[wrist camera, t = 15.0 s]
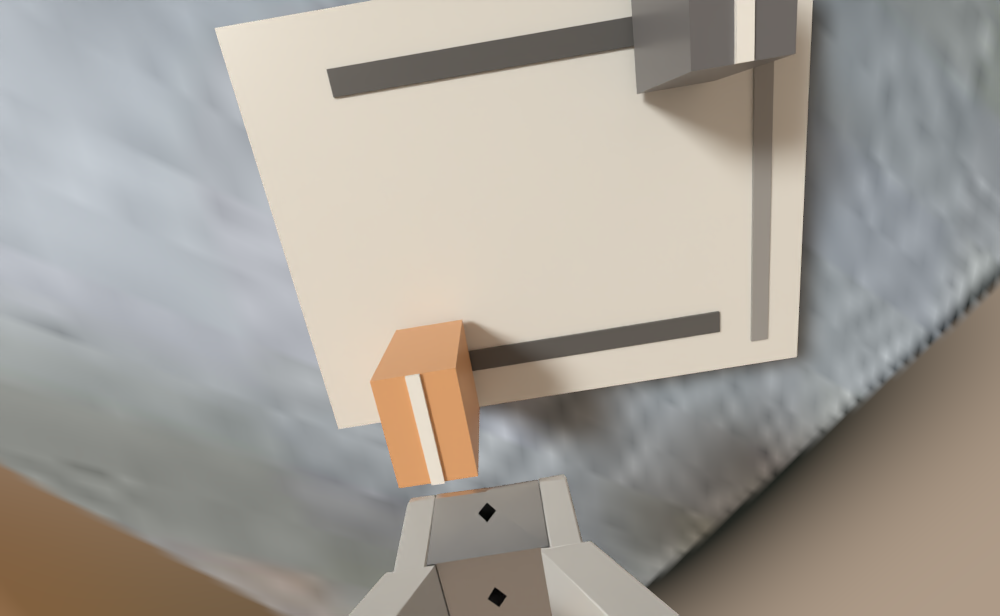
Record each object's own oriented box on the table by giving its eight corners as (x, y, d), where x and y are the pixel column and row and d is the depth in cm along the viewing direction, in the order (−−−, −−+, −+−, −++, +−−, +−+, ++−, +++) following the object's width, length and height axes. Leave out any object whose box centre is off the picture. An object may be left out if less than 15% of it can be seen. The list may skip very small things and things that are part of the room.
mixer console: (260, 50, 17) (212, 27, 14) (758, -37, 16) (818, -80, 13) (358, 392, 21) (338, 430, 18) (753, 329, 21) (798, 357, 18)
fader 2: (628, -42, 13) (687, -123, 9) (711, -57, 13) (806, -145, 9) (636, 94, 14) (692, 71, 11) (713, 81, 14) (798, 52, 11)
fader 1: (396, 330, 17) (368, 383, 13) (462, 319, 17) (455, 369, 13) (417, 417, 18) (398, 490, 14) (479, 407, 18) (478, 478, 14)
